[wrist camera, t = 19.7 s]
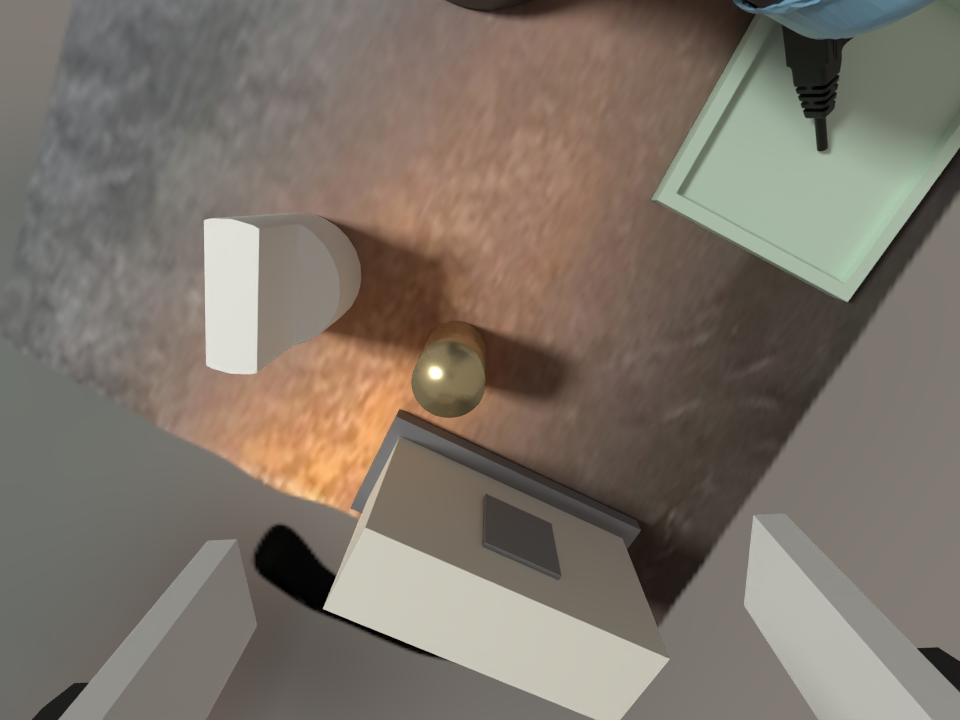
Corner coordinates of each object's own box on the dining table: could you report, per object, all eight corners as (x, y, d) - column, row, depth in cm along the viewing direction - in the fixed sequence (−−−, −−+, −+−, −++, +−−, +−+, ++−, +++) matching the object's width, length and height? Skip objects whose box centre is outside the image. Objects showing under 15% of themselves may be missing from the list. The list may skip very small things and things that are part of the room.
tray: (816, -94, 32) (831, -108, 31) (1021, 37, 34) (1044, 30, 33) (650, 199, 38) (656, 199, 37) (834, 298, 40) (847, 302, 39)
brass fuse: (424, 321, 41) (409, 349, 34) (485, 320, 41) (484, 348, 33) (427, 379, 43) (413, 418, 35) (486, 378, 43) (485, 417, 35)
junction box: (354, 498, 46) (300, 619, 33) (399, 409, 44) (359, 502, 30) (581, 597, 49) (615, 745, 36) (636, 520, 47) (695, 648, 33)
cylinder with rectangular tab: (249, 204, 39) (148, 206, 27) (365, 222, 39) (314, 231, 28) (247, 317, 41) (155, 362, 30) (357, 333, 42) (306, 384, 30)
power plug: (777, 153, 38) (751, -21, 30) (842, 90, 39) (832, -93, 31) (857, 158, 33) (850, -43, 26) (929, 87, 34) (942, -127, 27)
